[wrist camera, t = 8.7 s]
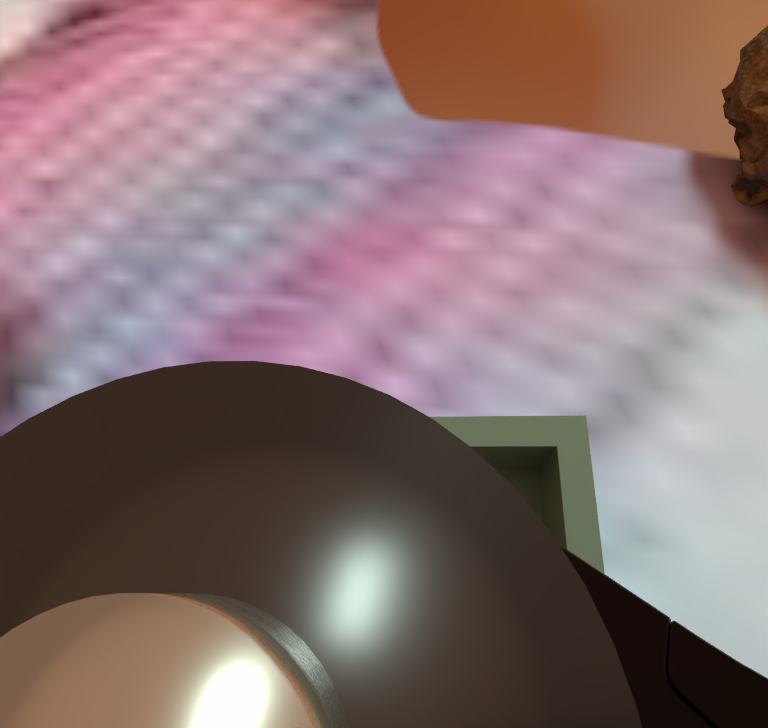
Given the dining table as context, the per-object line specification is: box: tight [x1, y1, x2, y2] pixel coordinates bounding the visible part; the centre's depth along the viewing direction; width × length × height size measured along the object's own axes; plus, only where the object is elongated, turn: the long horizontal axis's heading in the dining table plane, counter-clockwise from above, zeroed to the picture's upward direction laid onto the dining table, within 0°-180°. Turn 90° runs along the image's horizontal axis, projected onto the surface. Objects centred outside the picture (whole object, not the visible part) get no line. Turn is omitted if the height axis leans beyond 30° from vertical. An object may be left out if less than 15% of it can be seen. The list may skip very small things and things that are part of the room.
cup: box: [430, 416, 604, 574], centre depth 15 cm, size 11×11×4 cm
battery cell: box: [0, 361, 642, 728], centre depth 8 cm, size 5×5×13 cm
